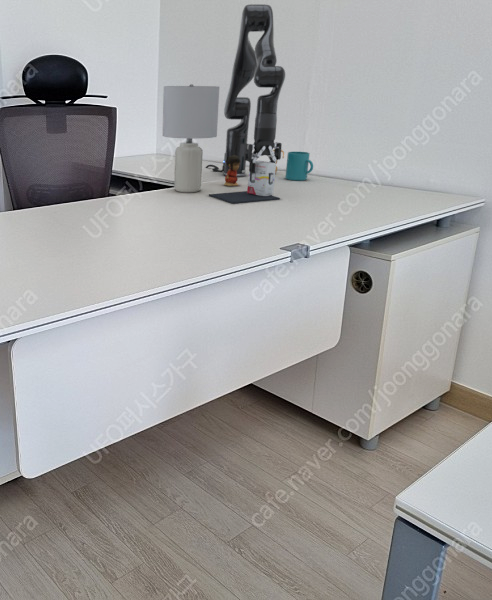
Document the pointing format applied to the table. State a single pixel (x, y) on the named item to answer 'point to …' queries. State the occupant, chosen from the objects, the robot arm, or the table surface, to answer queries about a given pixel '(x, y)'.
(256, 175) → the ink box
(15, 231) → the table surface
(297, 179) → the cup
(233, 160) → the figurine
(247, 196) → the mat
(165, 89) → the lamp
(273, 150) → the figurine
